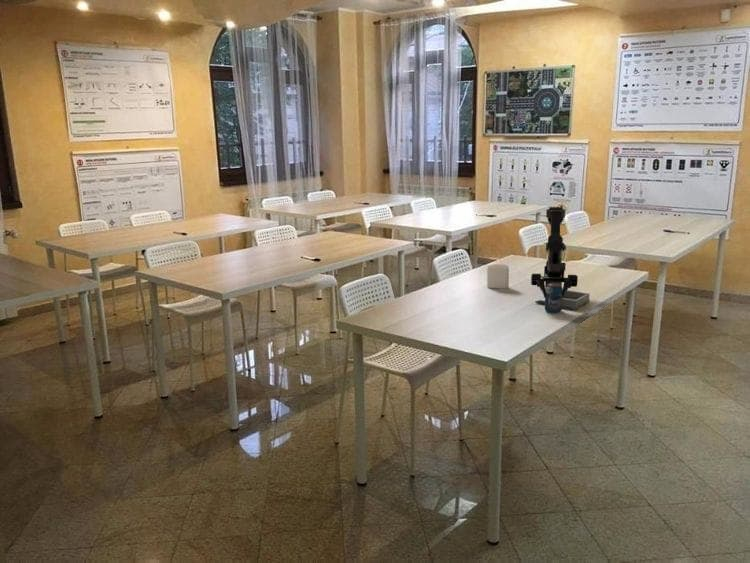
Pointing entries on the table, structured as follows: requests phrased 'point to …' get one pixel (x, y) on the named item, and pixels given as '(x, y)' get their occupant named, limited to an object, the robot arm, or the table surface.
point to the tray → (574, 300)
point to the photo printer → (498, 275)
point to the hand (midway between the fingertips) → (553, 297)
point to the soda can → (553, 298)
